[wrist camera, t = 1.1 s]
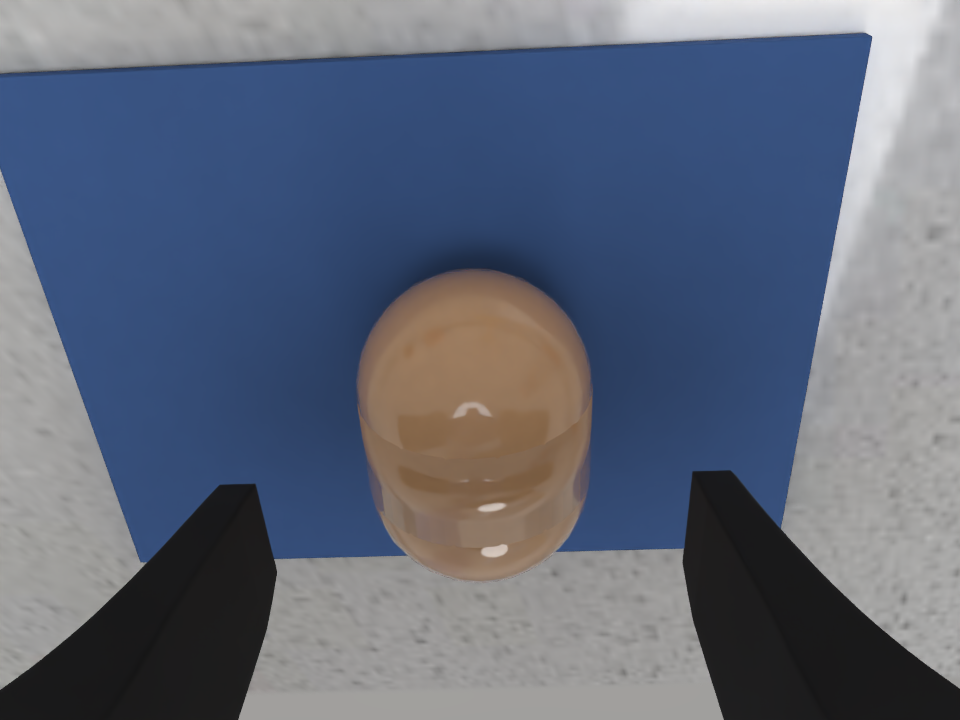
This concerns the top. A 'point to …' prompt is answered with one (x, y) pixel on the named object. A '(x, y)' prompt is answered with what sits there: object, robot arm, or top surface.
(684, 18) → the top surface
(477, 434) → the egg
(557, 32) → the top surface
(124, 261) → the cloth
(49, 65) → the top surface
